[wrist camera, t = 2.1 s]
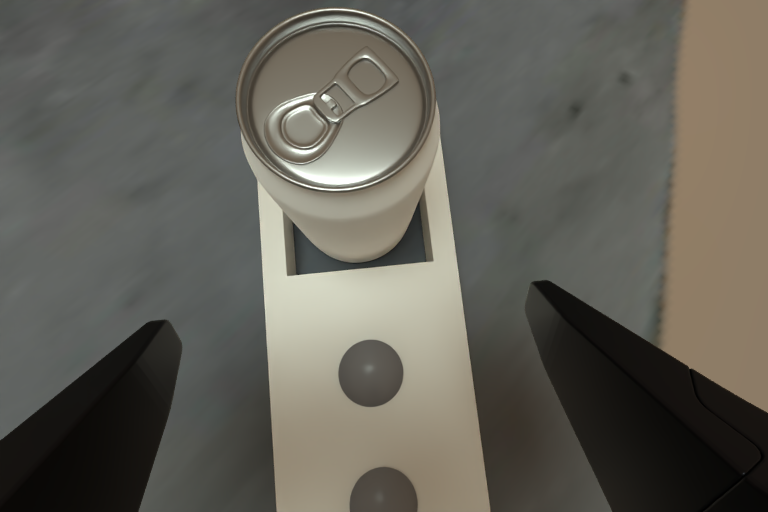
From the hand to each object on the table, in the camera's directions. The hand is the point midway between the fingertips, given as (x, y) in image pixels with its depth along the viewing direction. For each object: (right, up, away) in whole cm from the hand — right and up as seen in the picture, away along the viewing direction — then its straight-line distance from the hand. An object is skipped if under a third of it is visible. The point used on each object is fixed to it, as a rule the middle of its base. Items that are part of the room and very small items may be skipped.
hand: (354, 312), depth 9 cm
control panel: (0, -4, +12) cm, 12 cm away
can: (-1, +4, +13) cm, 14 cm away
